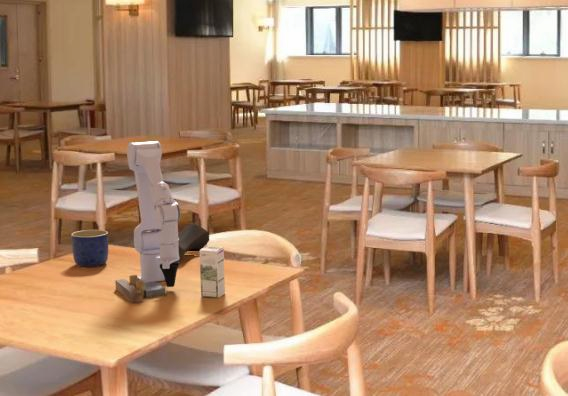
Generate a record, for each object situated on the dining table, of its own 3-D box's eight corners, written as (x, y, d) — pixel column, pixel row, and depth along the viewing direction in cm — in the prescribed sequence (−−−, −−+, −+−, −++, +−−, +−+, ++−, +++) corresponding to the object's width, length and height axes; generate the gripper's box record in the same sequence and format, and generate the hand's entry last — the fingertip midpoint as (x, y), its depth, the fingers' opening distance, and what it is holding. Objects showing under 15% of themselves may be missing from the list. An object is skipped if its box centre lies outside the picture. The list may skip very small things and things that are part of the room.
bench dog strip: (132, 287, 312) (132, 271, 311) (150, 300, 296) (149, 284, 295) (115, 289, 309) (115, 273, 309) (132, 303, 293) (131, 286, 293)
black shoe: (192, 252, 370) (169, 279, 344) (177, 228, 369) (152, 253, 343) (216, 239, 367) (194, 265, 341) (201, 214, 365) (178, 239, 339)
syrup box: (225, 293, 302) (224, 246, 300) (218, 298, 297) (216, 250, 295) (208, 292, 304) (206, 245, 302) (200, 297, 299) (198, 249, 296)
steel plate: (155, 289, 311) (154, 281, 310) (165, 296, 302) (165, 288, 302) (136, 291, 308) (136, 283, 308) (146, 299, 299) (145, 290, 299)
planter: (65, 264, 345) (64, 233, 343) (96, 258, 353) (95, 228, 351) (85, 270, 336) (83, 238, 334) (116, 264, 344) (115, 232, 342)
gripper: (159, 238, 312) (161, 280, 315) (151, 248, 298) (153, 292, 300) (182, 237, 312) (183, 280, 314) (175, 247, 298) (176, 292, 300)
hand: (170, 286), depth 307 cm, fingers closed
